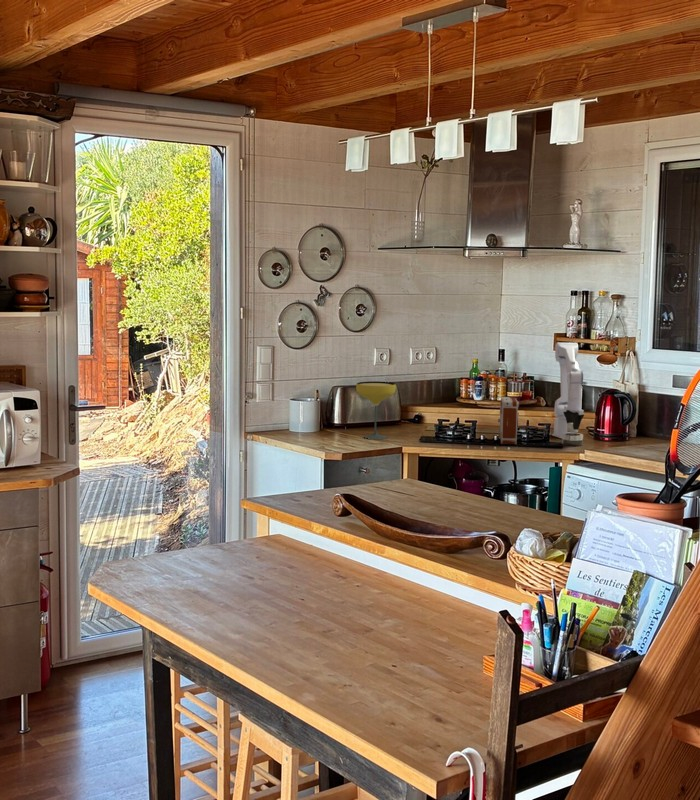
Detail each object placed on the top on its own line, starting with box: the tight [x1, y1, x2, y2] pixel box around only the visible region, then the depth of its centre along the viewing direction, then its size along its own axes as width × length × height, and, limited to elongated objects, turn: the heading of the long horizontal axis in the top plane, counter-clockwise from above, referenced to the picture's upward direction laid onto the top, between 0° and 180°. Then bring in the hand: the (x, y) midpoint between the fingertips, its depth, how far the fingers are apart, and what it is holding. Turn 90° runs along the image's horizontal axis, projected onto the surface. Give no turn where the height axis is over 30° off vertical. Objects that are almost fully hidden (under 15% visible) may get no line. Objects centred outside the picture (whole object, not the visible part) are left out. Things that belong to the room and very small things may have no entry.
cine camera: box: [497, 396, 520, 446], centre depth 454 cm, size 9×19×20 cm, turn 174°
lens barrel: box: [561, 432, 584, 447], centre depth 449 cm, size 9×9×4 cm
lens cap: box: [567, 423, 579, 433], centre depth 448 cm, size 5×5×4 cm
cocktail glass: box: [355, 380, 397, 440], centre depth 460 cm, size 18×18×25 cm
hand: (573, 428), depth 448 cm, fingers closed on lens cap, 5 cm apart
